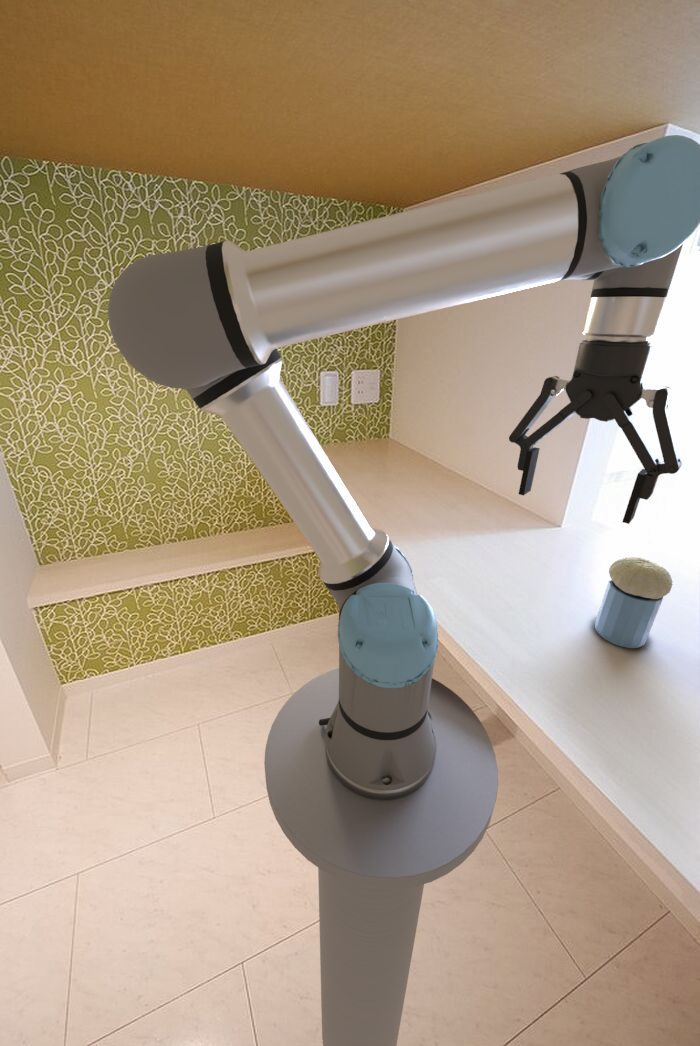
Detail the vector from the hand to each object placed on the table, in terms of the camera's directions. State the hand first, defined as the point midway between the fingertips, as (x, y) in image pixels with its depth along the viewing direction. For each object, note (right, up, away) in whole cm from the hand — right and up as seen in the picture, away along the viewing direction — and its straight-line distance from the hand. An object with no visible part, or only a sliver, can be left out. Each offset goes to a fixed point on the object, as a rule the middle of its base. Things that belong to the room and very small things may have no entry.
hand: (572, 505), depth 60 cm
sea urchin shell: (+19, -14, +16) cm, 28 cm away
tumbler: (+19, -23, +20) cm, 36 cm away
